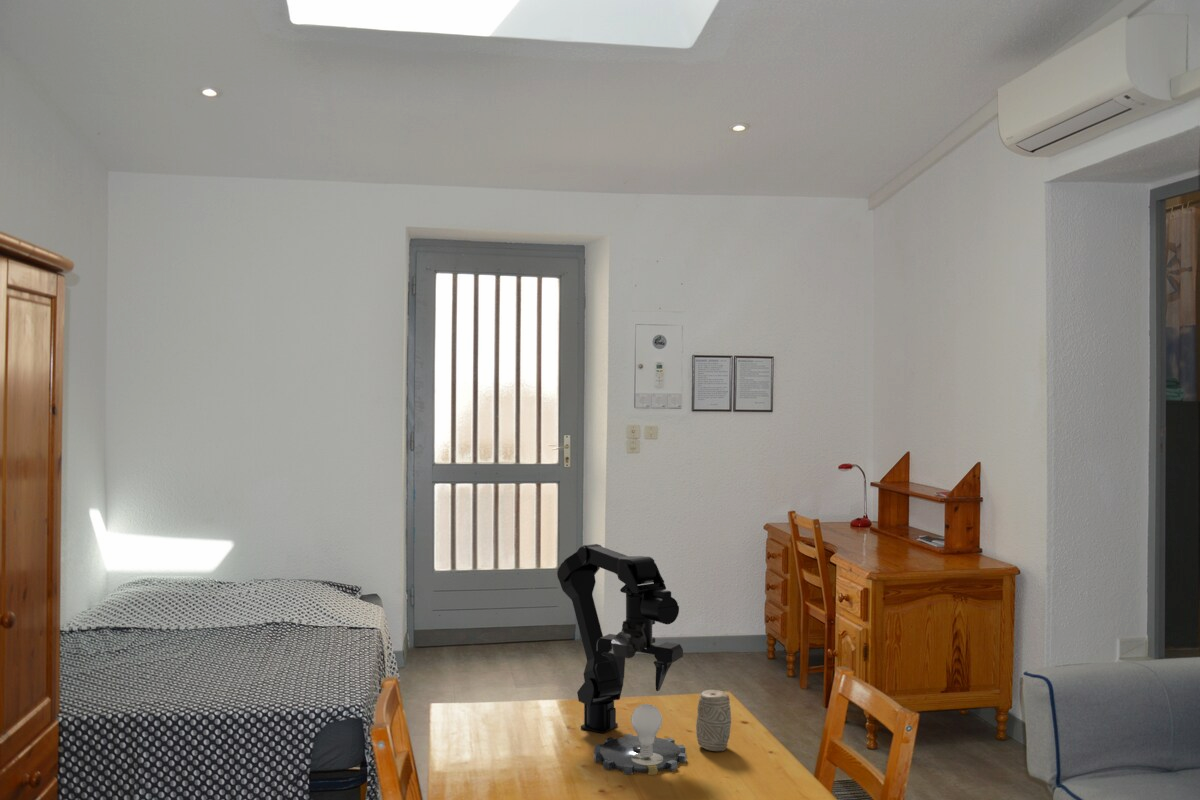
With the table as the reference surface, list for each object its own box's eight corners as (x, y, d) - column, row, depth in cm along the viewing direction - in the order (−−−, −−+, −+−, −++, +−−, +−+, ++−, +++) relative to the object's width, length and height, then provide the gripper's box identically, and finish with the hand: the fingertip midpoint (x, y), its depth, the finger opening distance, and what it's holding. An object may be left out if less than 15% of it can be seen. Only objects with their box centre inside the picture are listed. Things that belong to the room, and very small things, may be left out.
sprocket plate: (576, 762, 203) (576, 753, 203) (623, 734, 219) (623, 726, 219) (658, 782, 193) (658, 772, 193) (701, 751, 209) (701, 742, 209)
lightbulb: (631, 751, 204) (631, 699, 204) (661, 752, 204) (661, 699, 204) (631, 763, 198) (631, 709, 198) (662, 763, 197) (662, 709, 197)
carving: (730, 754, 207) (730, 698, 207) (694, 752, 209) (694, 696, 209) (732, 744, 214) (732, 689, 214) (697, 741, 215) (697, 687, 215)
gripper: (582, 617, 210) (583, 690, 210) (659, 628, 200) (659, 704, 200) (609, 608, 219) (609, 677, 219) (684, 617, 209) (684, 690, 209)
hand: (639, 687), depth 212 cm, fingers open, 9 cm apart
